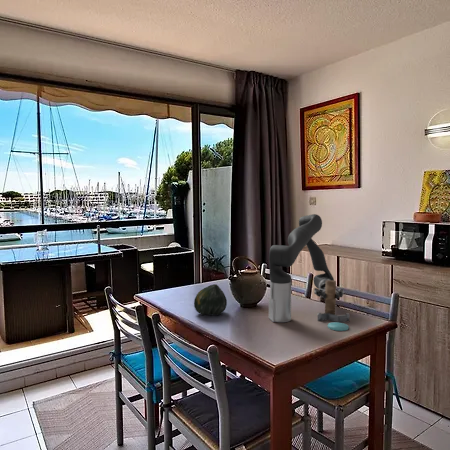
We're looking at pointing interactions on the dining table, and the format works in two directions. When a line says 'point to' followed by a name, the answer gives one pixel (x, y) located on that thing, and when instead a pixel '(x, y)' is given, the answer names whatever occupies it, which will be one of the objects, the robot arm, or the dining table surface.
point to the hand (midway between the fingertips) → (331, 296)
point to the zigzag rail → (333, 317)
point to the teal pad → (338, 326)
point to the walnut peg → (330, 296)
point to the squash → (210, 301)
